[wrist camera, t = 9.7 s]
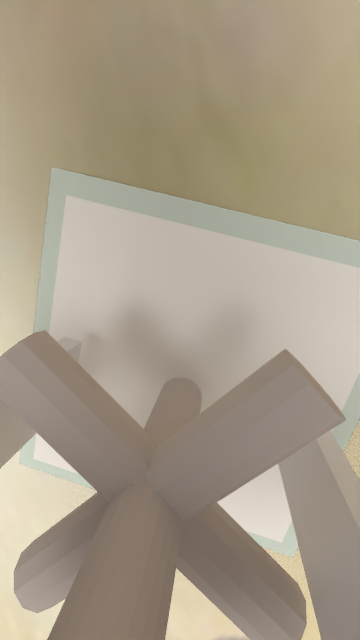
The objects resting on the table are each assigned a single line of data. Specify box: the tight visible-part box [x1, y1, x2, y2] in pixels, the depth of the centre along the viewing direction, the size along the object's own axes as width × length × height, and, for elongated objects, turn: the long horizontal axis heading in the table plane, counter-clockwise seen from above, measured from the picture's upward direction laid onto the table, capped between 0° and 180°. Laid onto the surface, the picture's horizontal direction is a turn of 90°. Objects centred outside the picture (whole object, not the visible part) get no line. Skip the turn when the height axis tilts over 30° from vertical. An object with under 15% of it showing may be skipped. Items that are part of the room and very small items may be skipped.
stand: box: [19, 167, 360, 557], centre depth 15 cm, size 16×16×3 cm
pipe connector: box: [0, 330, 346, 640], centre depth 8 cm, size 10×10×10 cm
